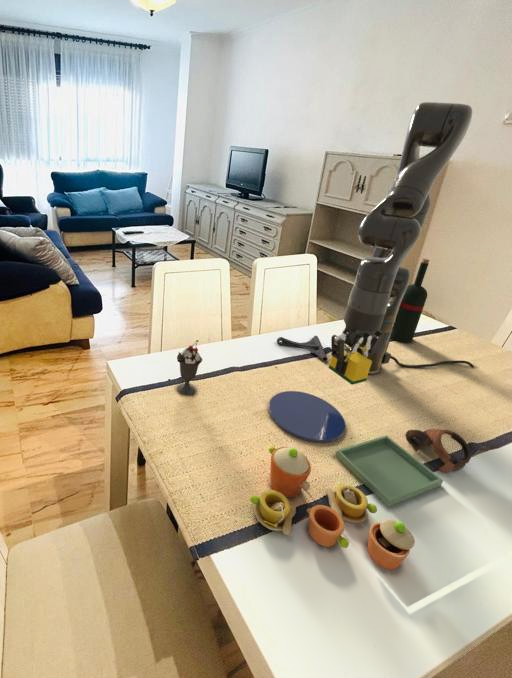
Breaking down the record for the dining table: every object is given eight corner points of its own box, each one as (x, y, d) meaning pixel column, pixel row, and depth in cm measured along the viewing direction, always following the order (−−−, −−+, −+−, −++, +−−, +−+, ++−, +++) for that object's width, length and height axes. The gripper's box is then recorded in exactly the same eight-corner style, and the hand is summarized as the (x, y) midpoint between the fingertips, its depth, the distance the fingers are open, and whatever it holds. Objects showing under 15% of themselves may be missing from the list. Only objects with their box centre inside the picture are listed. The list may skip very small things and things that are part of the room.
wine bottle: (378, 329, 146) (402, 253, 134) (409, 335, 142) (436, 258, 131) (382, 338, 139) (407, 259, 127) (414, 345, 135) (443, 264, 124)
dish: (384, 441, 90) (386, 435, 90) (440, 487, 79) (443, 480, 78) (334, 457, 85) (336, 450, 84) (387, 508, 74) (390, 501, 73)
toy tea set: (245, 524, 69) (253, 485, 65) (258, 462, 82) (265, 427, 79) (411, 591, 60) (432, 550, 57) (396, 510, 74) (411, 472, 70)
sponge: (341, 364, 95) (347, 345, 93) (365, 381, 89) (372, 361, 87) (328, 367, 93) (333, 348, 91) (351, 384, 87) (358, 364, 85)
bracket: (274, 334, 137) (275, 327, 136) (317, 340, 135) (319, 333, 134) (278, 355, 124) (280, 348, 123) (327, 362, 122) (329, 354, 121)
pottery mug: (442, 443, 92) (470, 433, 85) (448, 484, 86) (479, 476, 79) (393, 424, 92) (417, 412, 86) (396, 463, 86) (423, 453, 80)
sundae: (201, 386, 106) (207, 339, 101) (193, 400, 101) (199, 351, 95) (179, 379, 109) (184, 333, 103) (170, 392, 103) (174, 344, 97)
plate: (308, 390, 108) (309, 385, 107) (360, 434, 92) (362, 430, 92) (254, 402, 101) (254, 398, 101) (301, 452, 86) (302, 447, 85)
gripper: (357, 317, 78) (337, 386, 85) (405, 309, 83) (383, 374, 90) (328, 302, 85) (312, 367, 91) (375, 295, 90) (356, 357, 96)
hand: (347, 370), depth 91 cm, fingers closed on sponge, 4 cm apart
